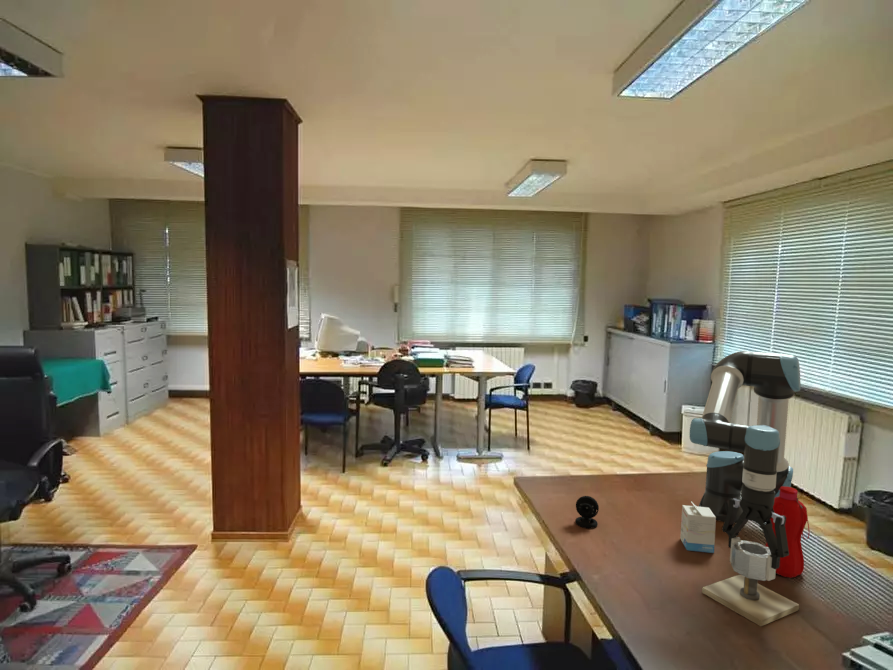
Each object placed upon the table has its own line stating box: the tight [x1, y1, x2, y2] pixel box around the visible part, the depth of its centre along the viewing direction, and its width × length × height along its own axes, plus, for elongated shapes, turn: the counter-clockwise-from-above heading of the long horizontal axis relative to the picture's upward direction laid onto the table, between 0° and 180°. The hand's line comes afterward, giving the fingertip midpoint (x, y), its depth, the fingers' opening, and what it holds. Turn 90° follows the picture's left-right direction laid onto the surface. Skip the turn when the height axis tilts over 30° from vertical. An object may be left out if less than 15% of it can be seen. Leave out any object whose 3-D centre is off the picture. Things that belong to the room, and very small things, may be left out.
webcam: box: [575, 495, 600, 530], centre depth 182 cm, size 8×8×10 cm
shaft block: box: [701, 574, 800, 627], centre depth 138 cm, size 16×16×8 cm
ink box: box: [679, 501, 717, 554], centre depth 169 cm, size 9×8×13 cm
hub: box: [730, 539, 771, 582], centre depth 138 cm, size 9×9×6 cm
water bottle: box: [764, 486, 810, 579], centre depth 154 cm, size 9×11×25 cm
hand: (751, 569), depth 138 cm, fingers closed on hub, 9 cm apart
